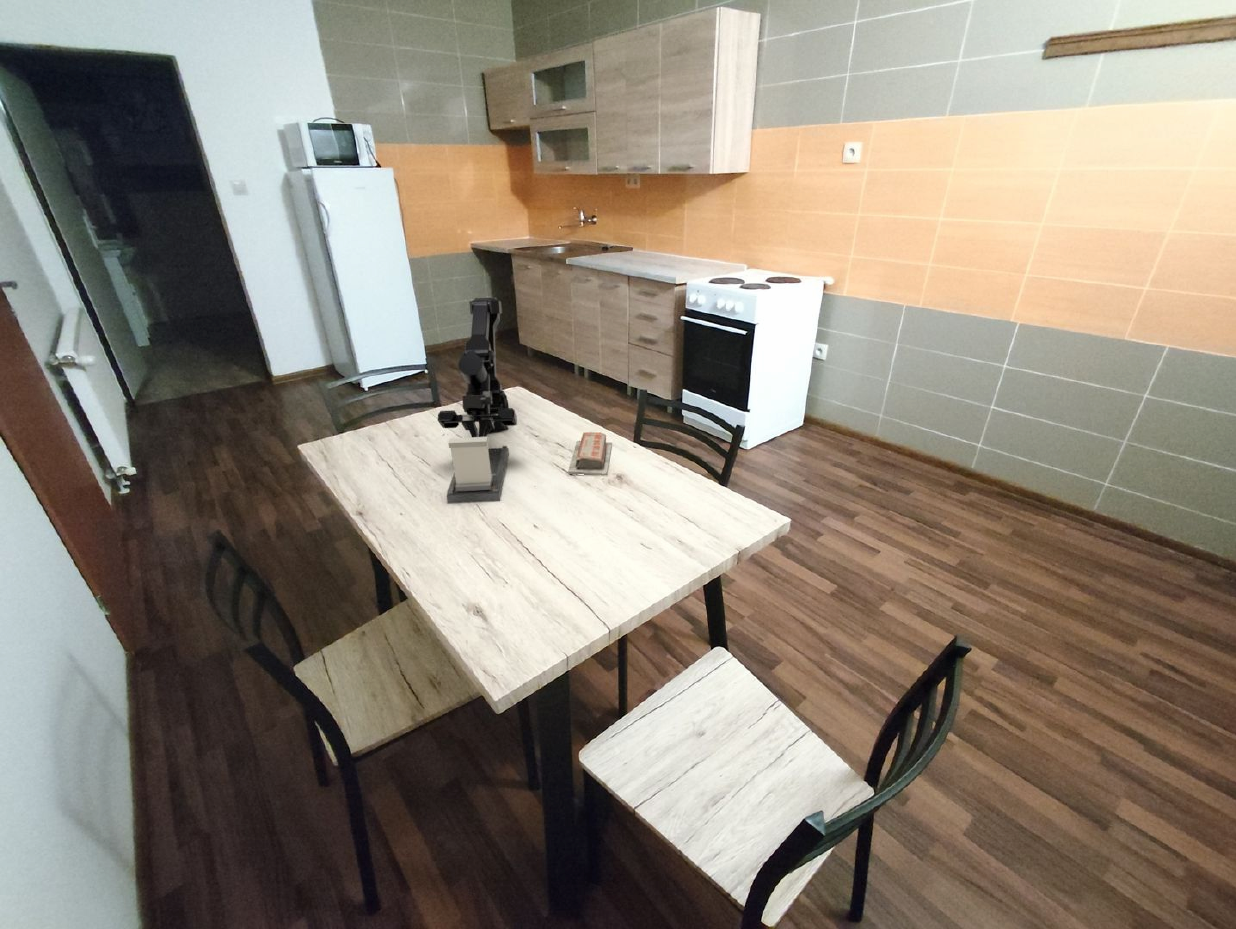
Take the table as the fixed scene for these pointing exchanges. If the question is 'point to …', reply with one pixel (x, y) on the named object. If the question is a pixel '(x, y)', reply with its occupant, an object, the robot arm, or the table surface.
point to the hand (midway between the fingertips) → (478, 450)
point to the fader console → (498, 471)
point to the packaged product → (591, 455)
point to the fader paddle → (471, 463)
